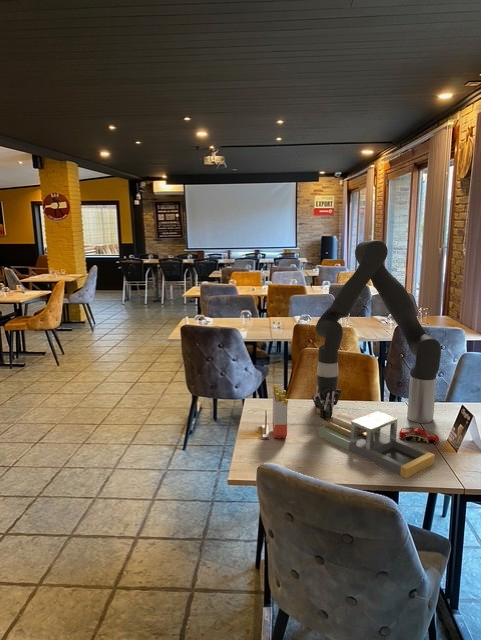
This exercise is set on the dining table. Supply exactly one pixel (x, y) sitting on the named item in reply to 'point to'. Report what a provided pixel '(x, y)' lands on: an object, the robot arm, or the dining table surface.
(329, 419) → the sled frame
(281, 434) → the french fries container
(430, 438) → the race car
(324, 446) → the dining table surface
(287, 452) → the dining table surface
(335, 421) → the ash block
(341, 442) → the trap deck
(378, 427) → the steel tunnel
